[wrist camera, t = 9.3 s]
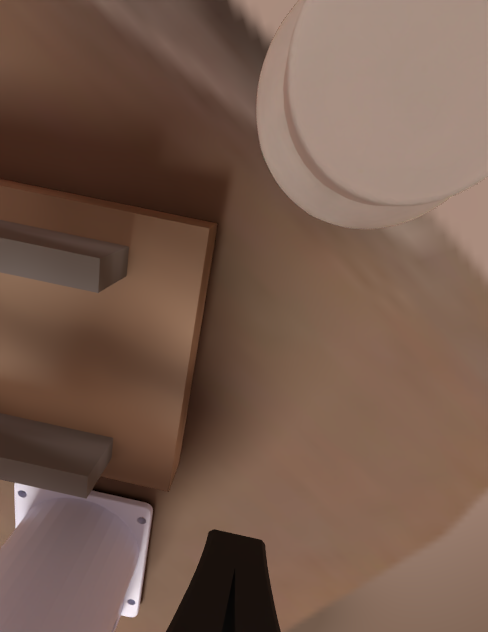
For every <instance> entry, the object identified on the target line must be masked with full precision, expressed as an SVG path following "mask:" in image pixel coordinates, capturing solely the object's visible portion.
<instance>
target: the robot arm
mask: <svg viewBox="0 0 488 632" xmlns="http://www.w3.org/2000/svg"><path fill="white" fill-rule="evenodd" d="M14 493H15V526H16V529H15V530H14V531H13V533H12V534H11V535H10V537H9V538H8V539H7V540H6V542H5V543H4V544H3V546H2V547H1V548H0V632H115V630H116V627H117V624H118V622H119V619H120V616H121V615H123V616H127V617H135V616H136V615H137V614H138V611H139V608H140V601H141V594H142V587H143V579H144V572H145V565H146V558H147V551H148V543H149V536H150V529H151V522H152V515H153V508H152V506H151V505H150V504H148V503H146V502H141V501H137V500H132V499H128V498H123V497H119V496H114V495H110V494H105V493H101V492H96V491H91V492H90V494H89V495H88V497H87V499H86V498H81V497H77V496H72V495H68V494H63V493H59V492H54V491H50V490H45V489H41V488H36V487H32V486H27V485H23V484H19V483H15V484H14ZM142 517H143V518H142ZM166 632H281V631H280V627H279V623H278V619H277V615H276V610H275V605H274V600H273V595H272V590H271V585H270V579H269V573H268V567H267V559H266V551H265V544H264V542H263V541H262V540H259V539H255V538H250V537H246V536H241V535H237V534H232V533H228V532H223V531H219V530H212V531H209V533H208V537H207V541H206V544H205V547H204V550H203V553H202V556H201V559H200V561H199V564H198V566H197V569H196V571H195V573H194V576H193V578H192V580H191V582H190V585H189V587H188V589H187V591H186V593H185V595H184V597H183V599H182V601H181V603H180V605H179V607H178V609H177V611H176V613H175V615H174V617H173V619H172V621H171V623H170V625H169V627H168V629H167V631H166Z"/></svg>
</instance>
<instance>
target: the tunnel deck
mask: <svg viewBox="0 0 488 632" xmlns="http://www.w3.org/2000/svg"><path fill="white" fill-rule="evenodd" d="M217 225H218V223H213V222H208V221H204V220H199V219H194V218H189V217H184V216H179V215H174V214H170V213H165V212H160V211H155V210H150V209H145V208H140V207H135V206H131V205H126V204H121V203H116V202H111V201H106V200H101V199H96V198H92V197H87V196H82V195H77V194H72V193H67V192H62V191H58V190H53V189H48V188H43V187H38V186H33V185H28V184H23V183H19V182H14V181H9V180H4V179H0V479H1V480H5V481H10V482H14V483H19V484H23V485H27V486H32V487H36V488H41V489H45V490H50V491H54V492H59V493H63V494H68V495H72V496H77V497H81V498H86V499H87V497H88V495H89V494H90V492H91V491H92V489H93V487H94V486H95V484H96V482H97V481H98V479H99V478H100V477H104V478H109V479H114V480H118V481H123V482H127V483H132V484H136V485H141V486H145V487H150V488H154V489H159V490H163V491H168V492H169V490H170V487H171V484H172V481H173V479H174V476H175V473H176V470H177V468H178V465H179V460H180V454H181V448H182V442H183V435H184V429H185V423H186V417H187V411H188V405H189V398H190V392H191V386H192V380H193V374H194V367H195V361H196V355H197V349H198V343H199V336H200V330H201V324H202V318H203V312H204V305H205V299H206V293H207V287H208V281H209V275H210V268H211V262H212V256H213V250H214V244H215V237H216V231H217Z"/></svg>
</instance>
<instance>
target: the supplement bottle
mask: <svg viewBox="0 0 488 632" xmlns="http://www.w3.org/2000/svg"><path fill="white" fill-rule="evenodd" d="M256 120H257V129H258V136H259V142H260V147H261V151H262V155H263V157H264V160H265V162H266V164H267V166H268V168H269V170H270V172H271V174H272V176H273V177H274V179H275V181H276V182H277V184H278V185H279V186H280V188H281V189H282V190H283V191H284V193H285V194H286V195H287V196H288V197H289V198H290V199H291V200H292V201H293V202H294V203H295V204H296V205H297V206H299V207H300V208H302V209H303V210H304V211H305V212H307V213H308V214H309V215H311V216H313V217H315V218H317V219H319V220H322V221H325V222H328V223H331V224H333V225H337V226H341V227H346V228H353V229H377V228H385V227H390V226H395V225H399V224H402V223H405V222H408V221H410V220H413V219H415V218H418V217H420V216H422V215H424V214H426V213H428V212H430V211H431V210H433V209H435V208H436V207H438V206H439V205H441V204H442V203H444V202H445V201H446V200H448V199H449V198H450V197H452V196H454V195H456V194H459V193H461V192H463V191H465V190H467V189H469V188H471V187H473V186H474V185H476V184H478V183H479V182H481V181H482V180H484V179H485V178H486V177H488V0H299V1H298V2H297V3H296V4H295V5H294V7H293V8H292V9H291V11H290V12H289V13H288V15H287V16H286V17H285V19H284V20H283V22H282V23H281V25H280V27H279V28H278V30H277V32H276V34H275V36H274V38H273V40H272V42H271V44H270V46H269V49H268V52H267V54H266V57H265V60H264V63H263V66H262V70H261V73H260V78H259V84H258V91H257V100H256Z"/></svg>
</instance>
